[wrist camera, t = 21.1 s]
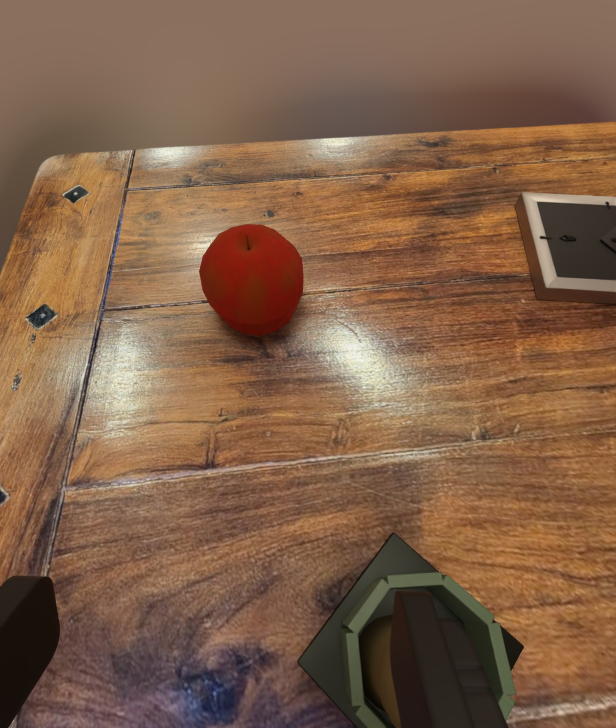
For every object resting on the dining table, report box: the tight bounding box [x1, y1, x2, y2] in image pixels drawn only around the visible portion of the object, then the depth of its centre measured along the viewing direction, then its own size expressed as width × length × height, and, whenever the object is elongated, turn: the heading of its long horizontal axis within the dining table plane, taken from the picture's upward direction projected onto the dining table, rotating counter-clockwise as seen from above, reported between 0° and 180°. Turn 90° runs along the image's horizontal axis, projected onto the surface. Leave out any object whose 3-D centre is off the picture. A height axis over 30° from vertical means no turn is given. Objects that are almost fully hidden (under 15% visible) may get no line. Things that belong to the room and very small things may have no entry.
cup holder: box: [297, 533, 524, 728], centre depth 29 cm, size 12×12×6 cm
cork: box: [358, 615, 401, 728], centre depth 26 cm, size 6×6×11 cm
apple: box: [199, 224, 303, 336], centre depth 43 cm, size 10×10×12 cm
